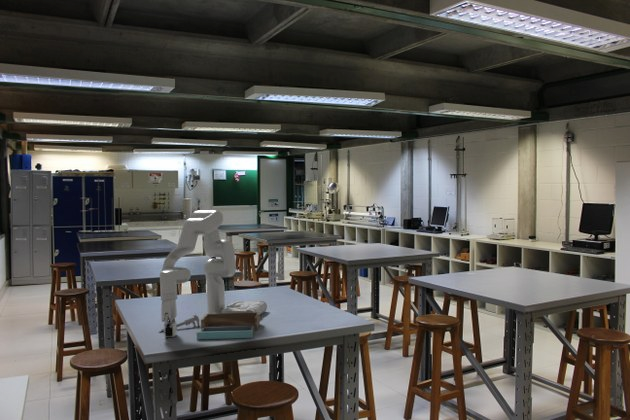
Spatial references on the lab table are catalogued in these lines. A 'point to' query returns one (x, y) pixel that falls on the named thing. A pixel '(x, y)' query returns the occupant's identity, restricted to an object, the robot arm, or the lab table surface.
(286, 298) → the lab table surface
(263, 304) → the white folded cloth
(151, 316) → the lab table surface
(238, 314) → the dock
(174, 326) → the white speckled block
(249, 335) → the tray
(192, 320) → the caliper
